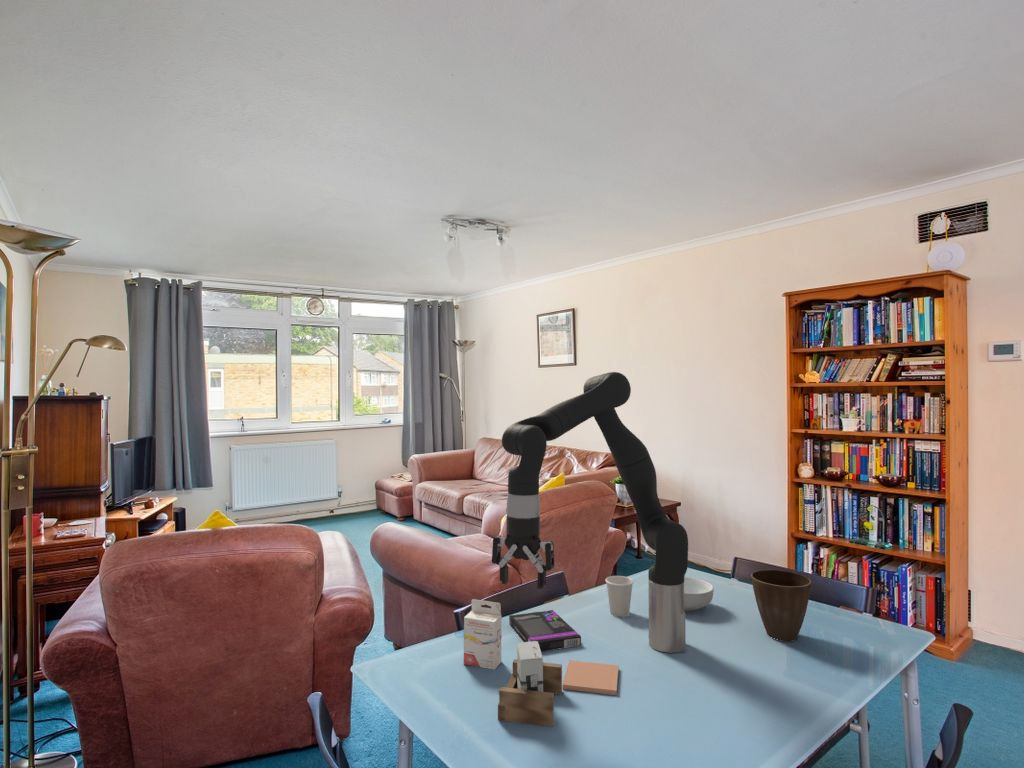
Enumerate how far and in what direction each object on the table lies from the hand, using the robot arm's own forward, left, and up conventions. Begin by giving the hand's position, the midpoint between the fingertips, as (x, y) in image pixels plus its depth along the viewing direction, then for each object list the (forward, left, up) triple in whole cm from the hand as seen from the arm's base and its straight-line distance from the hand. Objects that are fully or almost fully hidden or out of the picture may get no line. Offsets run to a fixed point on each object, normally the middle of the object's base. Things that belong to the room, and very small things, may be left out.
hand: (522, 585), depth 127 cm
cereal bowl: (-40, -61, -24) cm, 76 cm away
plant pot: (-64, -44, -24) cm, 81 cm away
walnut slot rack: (-3, +5, -24) cm, 24 cm away
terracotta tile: (-15, -9, -24) cm, 29 cm away
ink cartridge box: (+12, -11, -24) cm, 29 cm away
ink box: (-3, +5, -24) cm, 24 cm away
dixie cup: (-20, -51, -24) cm, 60 cm away
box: (0, -31, -24) cm, 39 cm away
